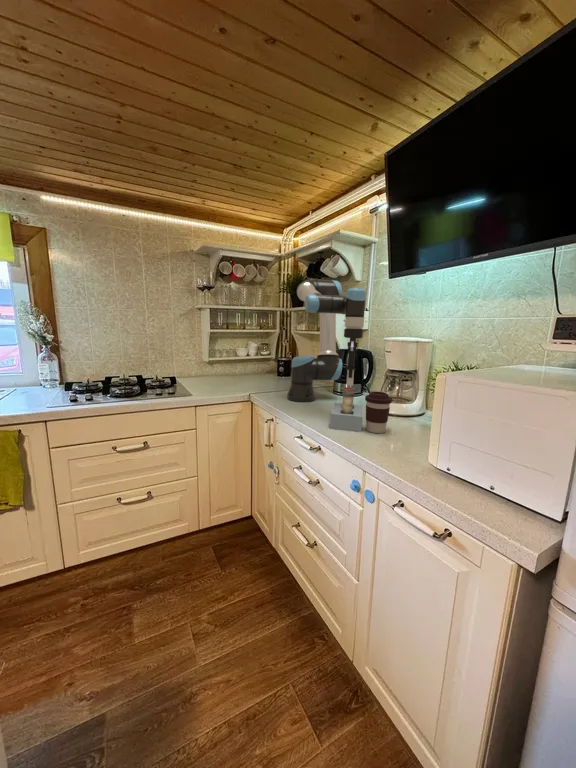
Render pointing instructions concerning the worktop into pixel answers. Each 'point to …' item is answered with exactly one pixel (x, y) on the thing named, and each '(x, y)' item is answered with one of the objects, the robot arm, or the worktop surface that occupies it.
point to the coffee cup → (377, 411)
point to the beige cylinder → (347, 402)
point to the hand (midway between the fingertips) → (349, 385)
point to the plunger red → (349, 390)
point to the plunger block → (346, 418)
